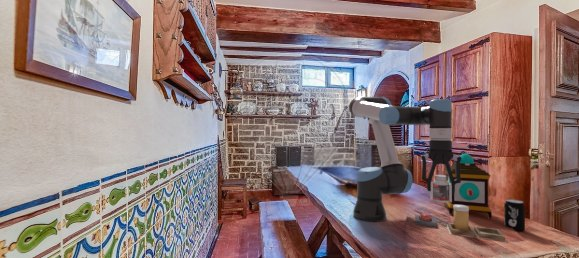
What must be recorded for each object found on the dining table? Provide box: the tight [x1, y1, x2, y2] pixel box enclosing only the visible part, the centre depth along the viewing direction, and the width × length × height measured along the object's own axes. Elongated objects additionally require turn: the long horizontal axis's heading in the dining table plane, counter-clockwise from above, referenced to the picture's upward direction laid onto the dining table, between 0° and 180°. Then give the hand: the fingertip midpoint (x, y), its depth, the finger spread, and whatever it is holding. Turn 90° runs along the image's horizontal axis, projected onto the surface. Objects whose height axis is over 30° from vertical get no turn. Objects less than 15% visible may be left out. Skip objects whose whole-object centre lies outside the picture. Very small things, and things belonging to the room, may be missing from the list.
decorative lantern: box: [443, 153, 493, 220], centre depth 136 cm, size 20×20×30 cm
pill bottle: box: [432, 174, 449, 204], centre depth 102 cm, size 5×5×10 cm
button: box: [419, 212, 432, 221], centre depth 116 cm, size 4×4×4 cm
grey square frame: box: [414, 214, 438, 228], centre depth 116 cm, size 8×8×3 cm
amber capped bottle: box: [453, 205, 470, 231], centre depth 106 cm, size 5×5×10 cm
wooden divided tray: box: [446, 222, 508, 243], centre depth 104 cm, size 18×10×3 cm, turn 66°
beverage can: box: [503, 198, 526, 233], centre depth 112 cm, size 7×7×12 cm
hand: (440, 200), depth 101 cm, fingers closed on pill bottle, 5 cm apart
